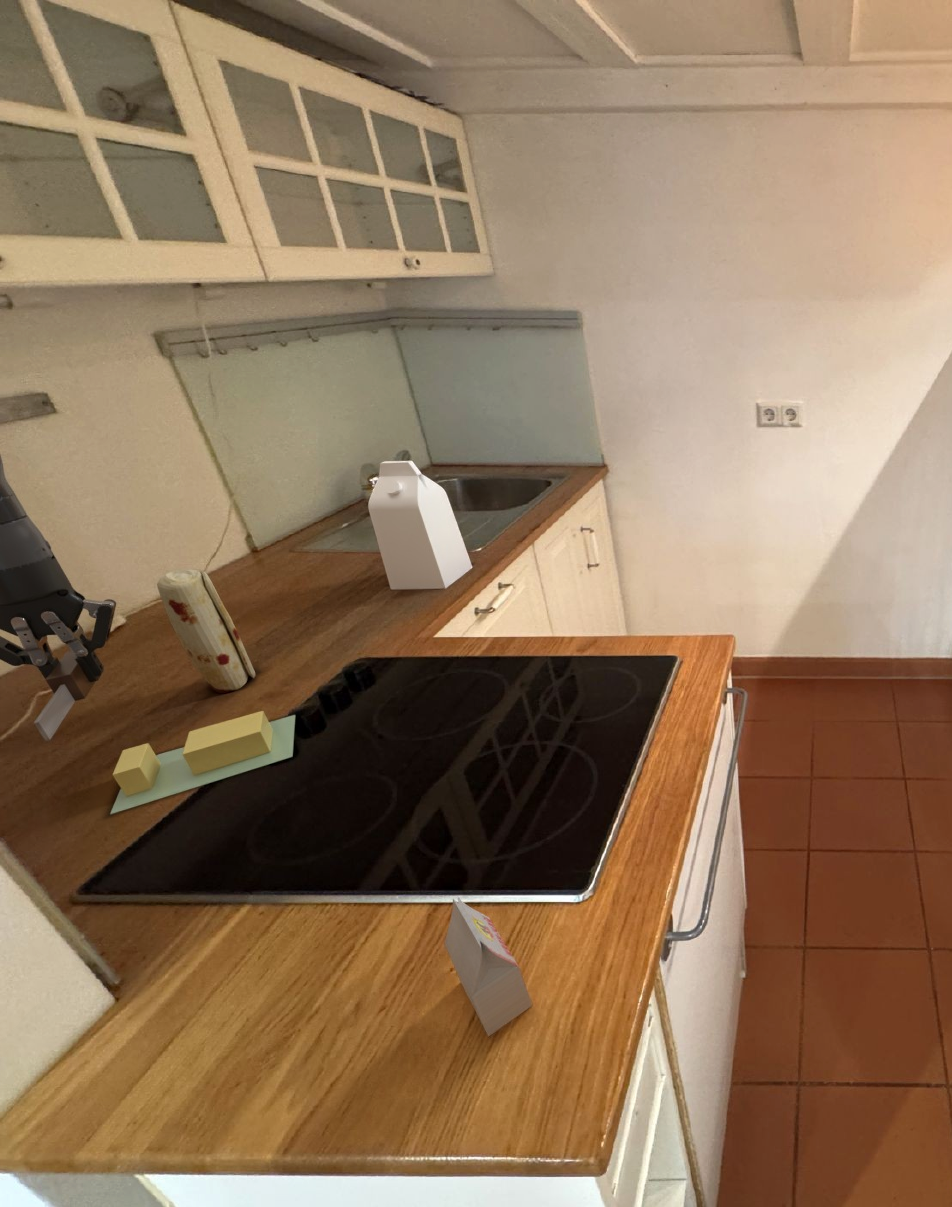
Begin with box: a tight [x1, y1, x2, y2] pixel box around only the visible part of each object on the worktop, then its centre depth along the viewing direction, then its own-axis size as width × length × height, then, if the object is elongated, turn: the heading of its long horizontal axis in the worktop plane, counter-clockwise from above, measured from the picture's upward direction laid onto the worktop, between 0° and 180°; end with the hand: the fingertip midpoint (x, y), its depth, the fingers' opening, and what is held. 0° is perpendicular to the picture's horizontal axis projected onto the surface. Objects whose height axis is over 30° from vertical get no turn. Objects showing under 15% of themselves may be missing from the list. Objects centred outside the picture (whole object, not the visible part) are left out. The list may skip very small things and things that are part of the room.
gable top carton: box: [444, 895, 533, 1037], centre depth 56 cm, size 4×7×10 cm, turn 44°
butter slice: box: [112, 742, 161, 796], centre depth 84 cm, size 2×6×4 cm, turn 35°
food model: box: [156, 568, 256, 694], centre depth 103 cm, size 10×7×20 cm
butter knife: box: [33, 650, 97, 742], centre depth 81 cm, size 2×19×4 cm, turn 35°
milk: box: [367, 460, 473, 591], centre depth 140 cm, size 12×12×26 cm
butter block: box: [182, 710, 273, 775], centre depth 89 cm, size 8×6×4 cm
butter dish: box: [109, 714, 296, 815], centre depth 88 cm, size 18×12×1 cm, turn 125°
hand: (80, 682), depth 85 cm, fingers closed on butter knife, 2 cm apart
